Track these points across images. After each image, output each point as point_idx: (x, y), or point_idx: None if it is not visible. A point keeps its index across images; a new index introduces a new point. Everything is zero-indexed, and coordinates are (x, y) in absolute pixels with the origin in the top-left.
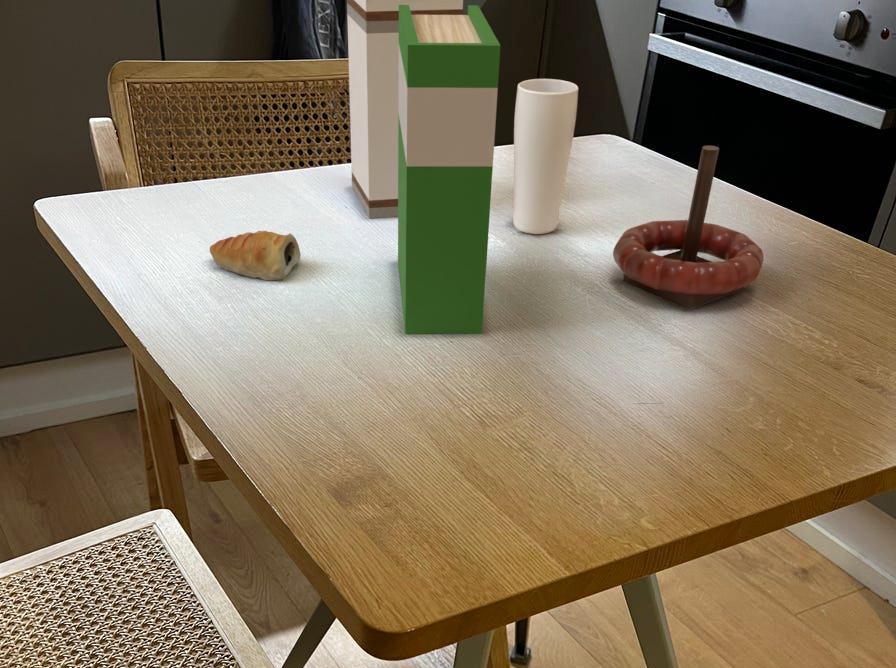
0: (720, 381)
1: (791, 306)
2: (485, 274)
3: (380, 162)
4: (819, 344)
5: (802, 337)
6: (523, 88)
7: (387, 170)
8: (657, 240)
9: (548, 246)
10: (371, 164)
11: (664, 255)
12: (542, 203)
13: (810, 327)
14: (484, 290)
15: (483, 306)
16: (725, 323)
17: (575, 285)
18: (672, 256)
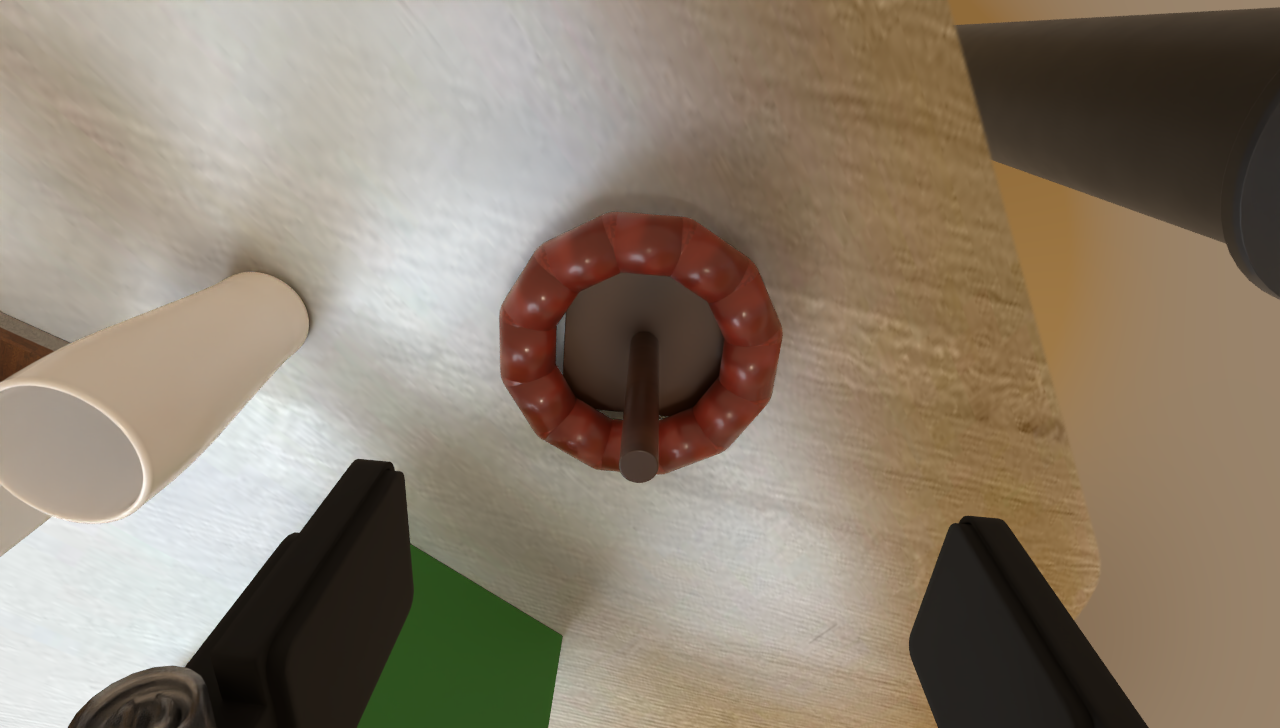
0: (865, 546)
1: (835, 268)
2: (551, 703)
3: (10, 535)
4: (933, 366)
5: (901, 363)
6: (66, 519)
7: (25, 515)
8: (555, 340)
9: (362, 363)
10: (9, 545)
11: (568, 310)
12: (279, 366)
13: (897, 321)
14: (554, 684)
15: (557, 666)
16: (781, 405)
17: (524, 454)
18: (580, 302)
